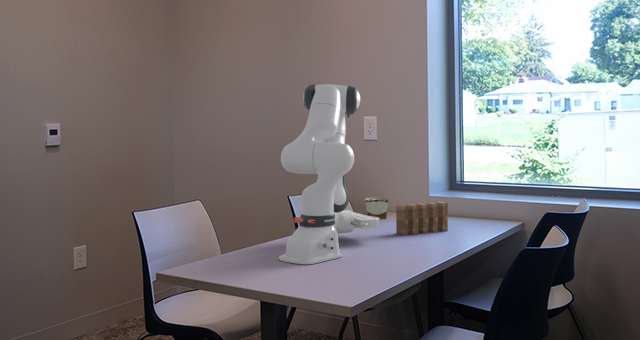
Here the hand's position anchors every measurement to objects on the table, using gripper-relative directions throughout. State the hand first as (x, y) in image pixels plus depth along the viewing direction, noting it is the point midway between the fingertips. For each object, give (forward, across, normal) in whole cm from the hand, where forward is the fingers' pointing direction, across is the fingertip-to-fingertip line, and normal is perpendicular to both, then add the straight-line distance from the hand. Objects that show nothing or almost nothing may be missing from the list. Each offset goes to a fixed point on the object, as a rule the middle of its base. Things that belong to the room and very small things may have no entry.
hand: (376, 218), depth 214 cm
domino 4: (+27, 0, +8) cm, 28 cm away
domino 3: (+22, 0, +8) cm, 23 cm away
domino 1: (+12, 0, +8) cm, 14 cm away
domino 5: (+32, 0, +8) cm, 33 cm away
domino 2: (+17, 0, +8) cm, 19 cm away
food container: (+25, +42, +8) cm, 49 cm away
